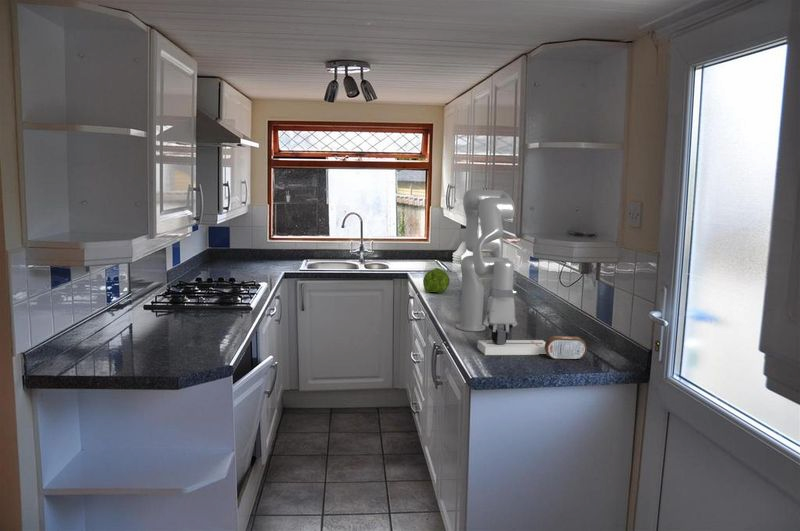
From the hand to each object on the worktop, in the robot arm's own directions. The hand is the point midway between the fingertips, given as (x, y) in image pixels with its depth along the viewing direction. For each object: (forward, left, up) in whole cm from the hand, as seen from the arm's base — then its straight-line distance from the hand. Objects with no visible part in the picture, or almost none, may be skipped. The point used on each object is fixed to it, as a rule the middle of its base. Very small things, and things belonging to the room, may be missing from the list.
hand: (499, 341), depth 243 cm
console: (0, +6, -4) cm, 7 cm away
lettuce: (-130, +6, -4) cm, 130 cm away
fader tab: (0, 0, 0) cm, 0 cm away
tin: (+11, +22, -4) cm, 25 cm away
